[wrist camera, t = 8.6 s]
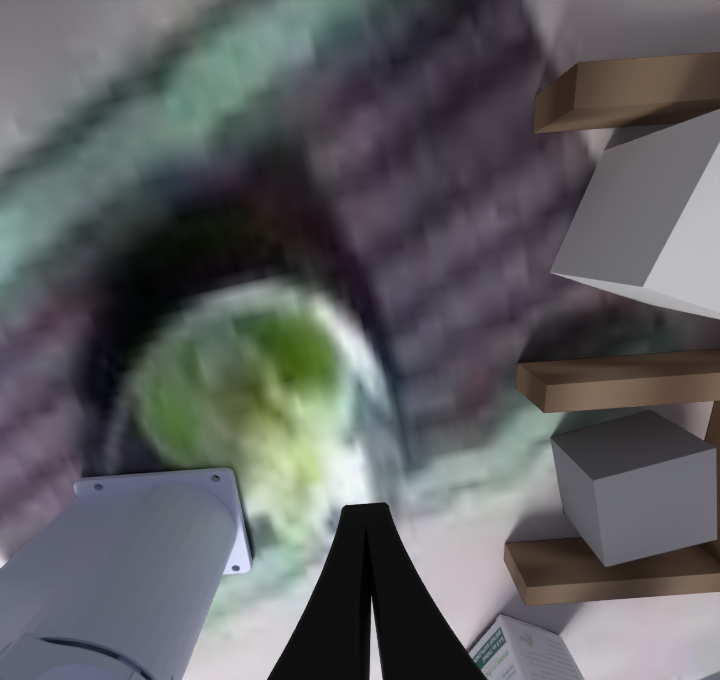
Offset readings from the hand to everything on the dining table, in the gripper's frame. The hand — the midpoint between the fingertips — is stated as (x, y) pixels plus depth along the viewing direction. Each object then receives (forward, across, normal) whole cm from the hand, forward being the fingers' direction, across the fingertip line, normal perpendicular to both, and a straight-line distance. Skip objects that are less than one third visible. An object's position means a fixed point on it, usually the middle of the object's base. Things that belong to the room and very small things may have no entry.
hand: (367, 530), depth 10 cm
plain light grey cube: (+10, -14, -8) cm, 19 cm away
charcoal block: (+10, -15, +6) cm, 19 cm away
